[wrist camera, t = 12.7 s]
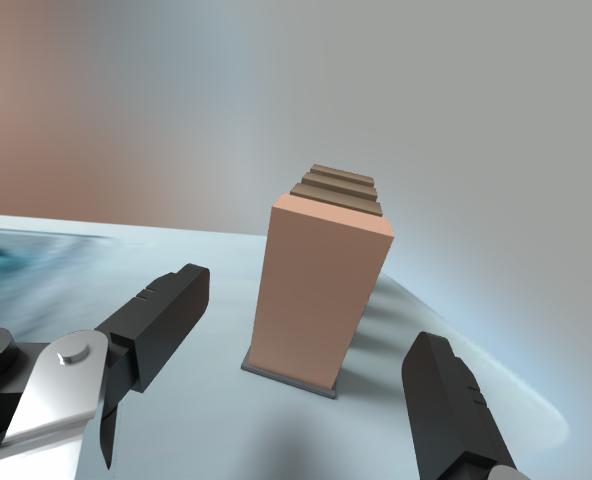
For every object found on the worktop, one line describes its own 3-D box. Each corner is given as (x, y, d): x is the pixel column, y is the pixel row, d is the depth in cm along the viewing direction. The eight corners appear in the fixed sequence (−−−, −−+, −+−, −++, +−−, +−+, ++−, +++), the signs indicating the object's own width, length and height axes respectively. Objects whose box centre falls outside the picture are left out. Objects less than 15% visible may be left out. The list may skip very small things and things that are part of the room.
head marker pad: (333, 399, 14) (335, 396, 14) (240, 368, 15) (241, 365, 15) (336, 360, 17) (338, 357, 17) (256, 335, 17) (256, 332, 17)
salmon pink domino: (330, 390, 15) (394, 236, 10) (247, 364, 15) (271, 206, 10) (333, 360, 16) (388, 218, 12) (258, 338, 17) (283, 193, 12)
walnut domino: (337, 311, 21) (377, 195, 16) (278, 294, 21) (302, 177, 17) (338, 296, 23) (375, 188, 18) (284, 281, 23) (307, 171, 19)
